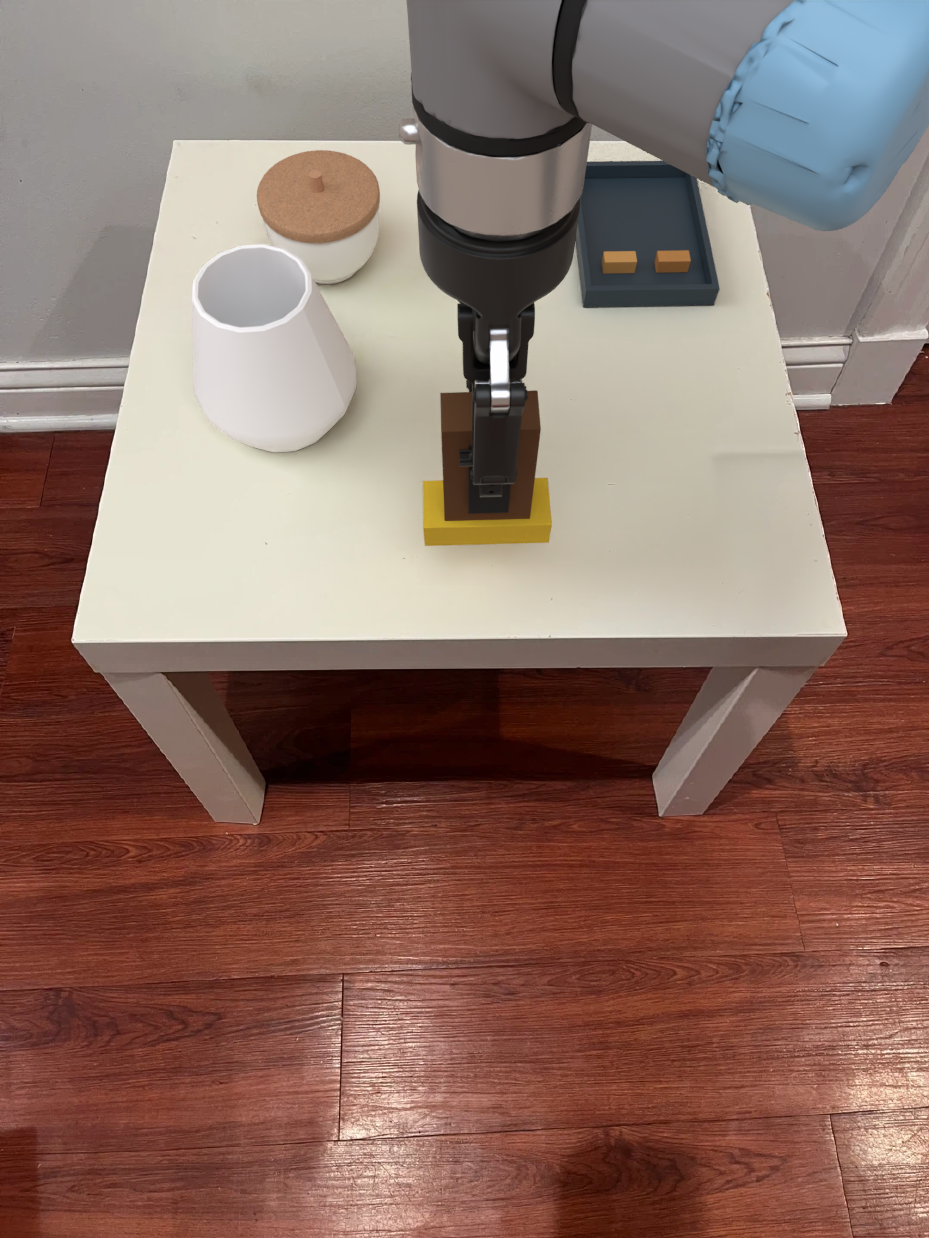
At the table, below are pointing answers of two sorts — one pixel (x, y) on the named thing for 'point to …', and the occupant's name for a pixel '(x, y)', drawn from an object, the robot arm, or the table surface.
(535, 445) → the brush
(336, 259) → the trinket box
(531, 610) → the table surface
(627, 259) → the crumb
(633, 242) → the tray
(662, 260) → the crumb
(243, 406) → the white vase
